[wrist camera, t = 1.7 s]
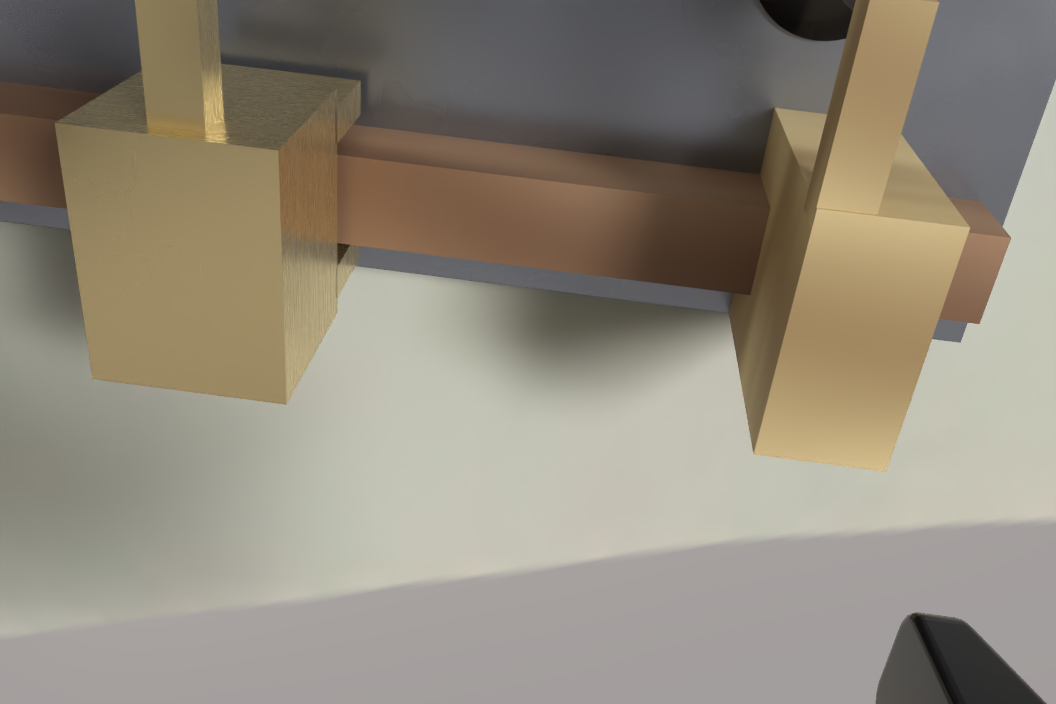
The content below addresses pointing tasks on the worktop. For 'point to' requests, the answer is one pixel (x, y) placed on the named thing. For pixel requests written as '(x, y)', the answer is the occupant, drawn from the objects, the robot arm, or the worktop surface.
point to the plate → (592, 87)
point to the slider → (206, 214)
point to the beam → (692, 232)
